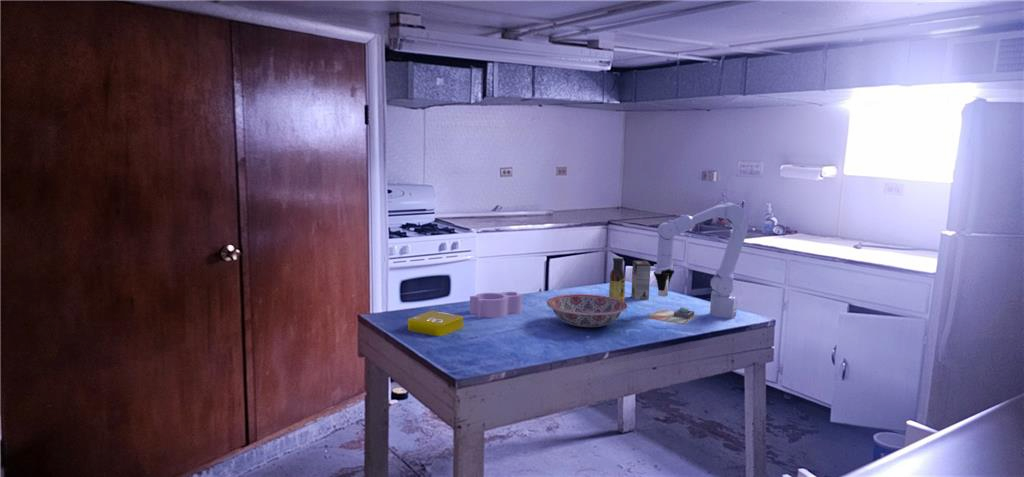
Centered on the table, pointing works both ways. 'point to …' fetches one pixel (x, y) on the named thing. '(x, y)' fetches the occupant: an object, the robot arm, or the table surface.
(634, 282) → the coffee box
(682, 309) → the button
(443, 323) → the element tile
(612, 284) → the sauce bottle
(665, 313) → the beige flat square board
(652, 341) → the table surface
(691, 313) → the button housing
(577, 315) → the ceramic bowl
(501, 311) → the pink lobed tray
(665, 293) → the cylinder
